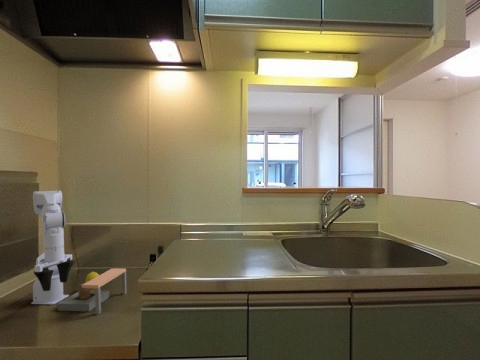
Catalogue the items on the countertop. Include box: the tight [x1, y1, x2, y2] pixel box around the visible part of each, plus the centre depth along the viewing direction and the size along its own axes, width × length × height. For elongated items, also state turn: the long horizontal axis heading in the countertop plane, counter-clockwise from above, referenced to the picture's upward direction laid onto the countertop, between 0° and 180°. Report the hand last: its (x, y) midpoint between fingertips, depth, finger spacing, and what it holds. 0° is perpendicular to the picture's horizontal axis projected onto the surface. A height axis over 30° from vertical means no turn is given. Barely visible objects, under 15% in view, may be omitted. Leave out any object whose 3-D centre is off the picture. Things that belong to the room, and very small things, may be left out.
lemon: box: [84, 271, 100, 290], centre depth 117 cm, size 6×6×8 cm
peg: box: [77, 282, 91, 300], centre depth 104 cm, size 4×4×7 cm
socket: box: [57, 290, 110, 312], centre depth 104 cm, size 12×12×2 cm
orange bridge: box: [82, 267, 128, 315], centre depth 104 cm, size 6×18×10 cm, turn 173°
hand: (55, 286), depth 97 cm, fingers open, 7 cm apart
